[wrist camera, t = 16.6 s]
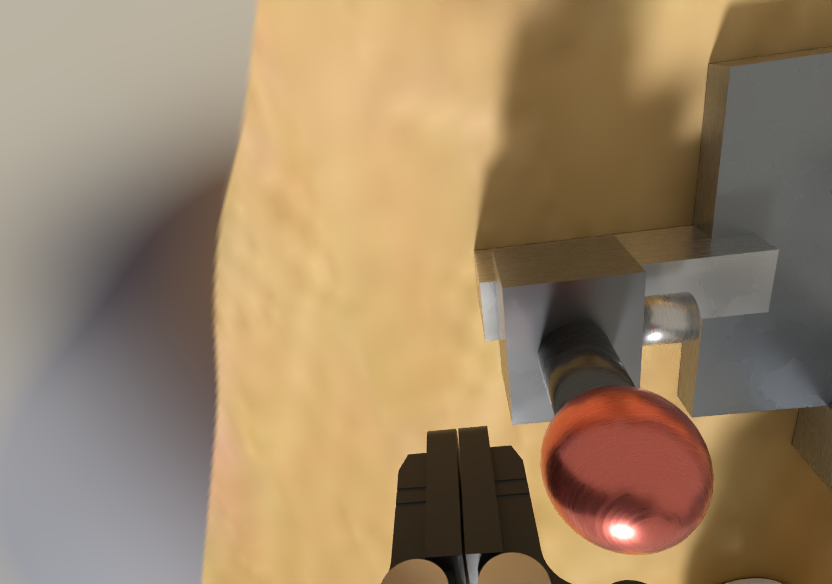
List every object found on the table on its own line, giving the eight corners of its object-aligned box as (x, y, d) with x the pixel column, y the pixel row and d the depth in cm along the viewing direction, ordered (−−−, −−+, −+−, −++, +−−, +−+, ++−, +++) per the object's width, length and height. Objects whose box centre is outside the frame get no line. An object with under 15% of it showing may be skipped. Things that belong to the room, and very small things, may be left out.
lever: (676, 227, 17) (903, 414, 9) (666, 355, 20) (841, 602, 11) (491, 249, 18) (543, 444, 10) (501, 371, 20) (551, 618, 12)
